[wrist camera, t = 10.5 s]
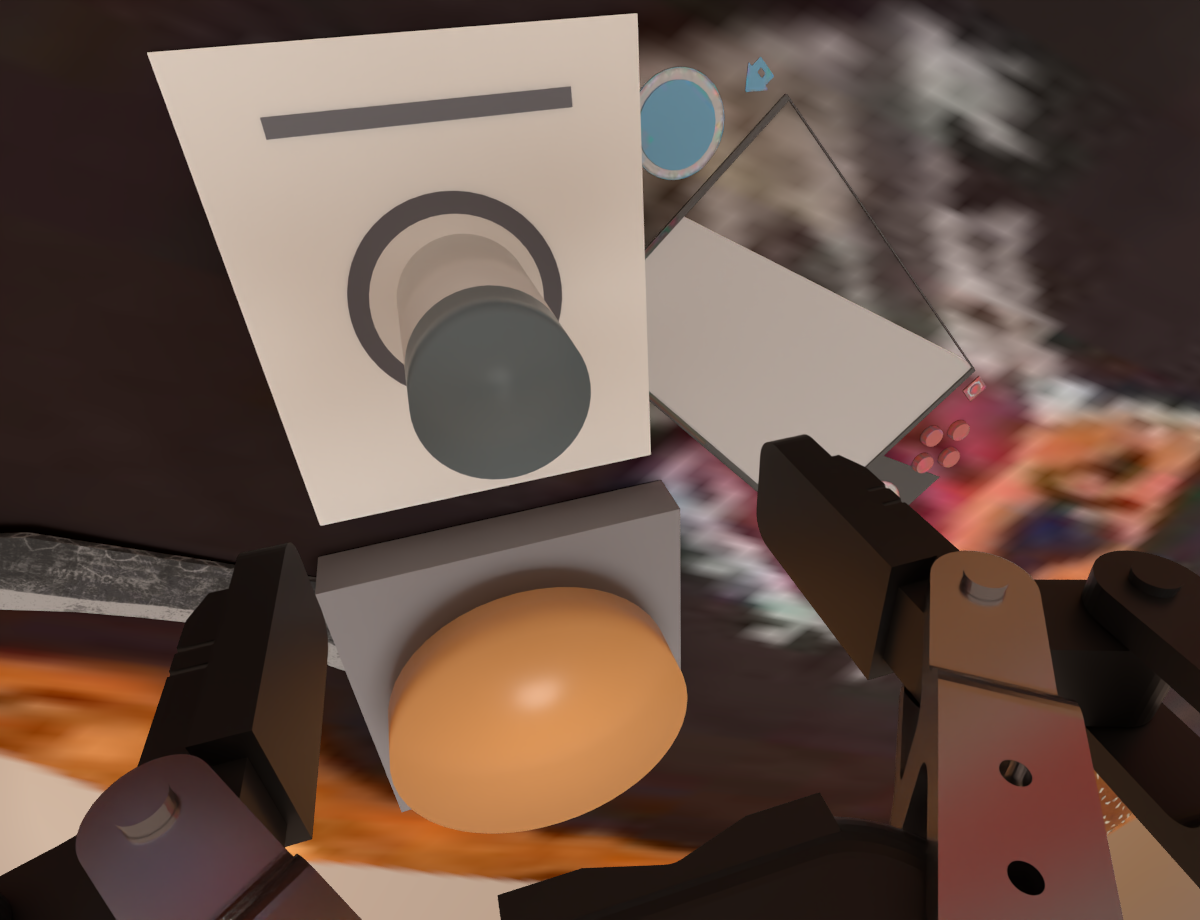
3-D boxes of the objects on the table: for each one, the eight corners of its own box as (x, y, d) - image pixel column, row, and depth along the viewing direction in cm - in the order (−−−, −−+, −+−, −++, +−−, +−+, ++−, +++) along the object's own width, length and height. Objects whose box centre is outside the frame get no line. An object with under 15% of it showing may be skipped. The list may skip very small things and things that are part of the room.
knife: (486, 669, 32) (532, 588, 30) (494, 704, 30) (543, 621, 28) (-395, 577, 19) (-406, 423, 17) (-462, 631, 17) (-482, 467, 15)
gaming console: (1014, 417, 31) (845, 568, 33) (1002, 410, 31) (837, 559, 33) (722, -17, 19) (485, 265, 21) (711, -16, 19) (481, 259, 21)
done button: (666, 555, 25) (687, 592, 23) (669, 742, 31) (686, 782, 29) (353, 633, 23) (352, 680, 21) (422, 818, 29) (425, 865, 27)
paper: (633, 13, 19) (639, 12, 18) (648, 450, 26) (652, 456, 26) (150, 52, 16) (144, 52, 16) (320, 520, 24) (320, 528, 23)
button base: (661, 480, 27) (680, 509, 26) (665, 694, 34) (680, 727, 33) (318, 557, 25) (314, 594, 23) (399, 771, 32) (401, 812, 30)
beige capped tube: (522, 225, 20) (584, 300, 14) (537, 351, 22) (596, 460, 17) (382, 243, 19) (389, 331, 14) (412, 372, 22) (429, 495, 16)
